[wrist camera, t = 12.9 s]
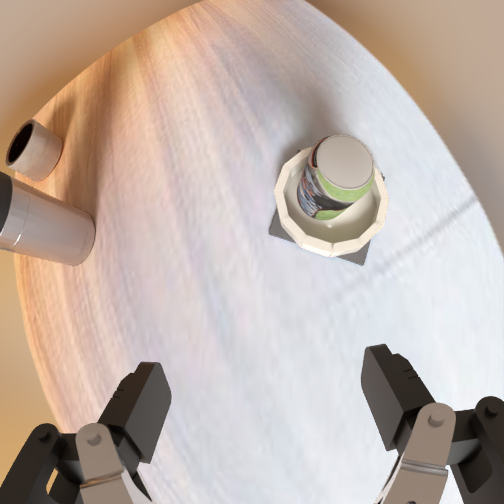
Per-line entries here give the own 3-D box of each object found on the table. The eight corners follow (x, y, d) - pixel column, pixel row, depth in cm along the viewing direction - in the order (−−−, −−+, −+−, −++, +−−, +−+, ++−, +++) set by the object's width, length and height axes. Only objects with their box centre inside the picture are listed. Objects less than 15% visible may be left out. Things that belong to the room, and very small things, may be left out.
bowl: (263, 235, 33) (259, 229, 30) (295, 145, 35) (294, 133, 32) (366, 270, 30) (372, 267, 28) (388, 175, 32) (395, 165, 29)
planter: (68, 131, 45) (41, 110, 36) (57, 175, 43) (25, 156, 34) (40, 146, 47) (14, 130, 38) (29, 188, 45) (0, 173, 36)
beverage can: (312, 167, 33) (316, 107, 21) (364, 197, 31) (392, 147, 20) (286, 207, 33) (278, 158, 21) (339, 240, 31) (360, 205, 19)
